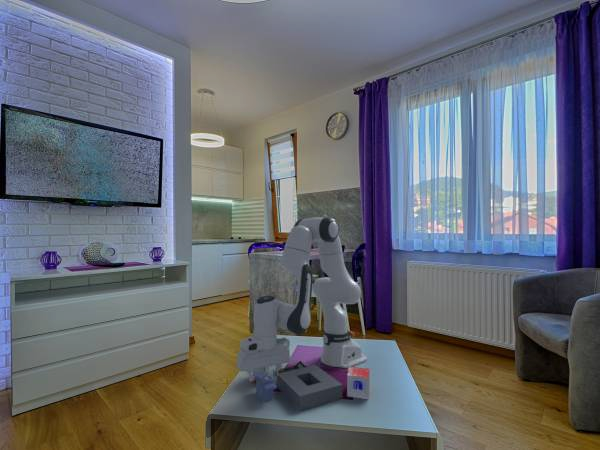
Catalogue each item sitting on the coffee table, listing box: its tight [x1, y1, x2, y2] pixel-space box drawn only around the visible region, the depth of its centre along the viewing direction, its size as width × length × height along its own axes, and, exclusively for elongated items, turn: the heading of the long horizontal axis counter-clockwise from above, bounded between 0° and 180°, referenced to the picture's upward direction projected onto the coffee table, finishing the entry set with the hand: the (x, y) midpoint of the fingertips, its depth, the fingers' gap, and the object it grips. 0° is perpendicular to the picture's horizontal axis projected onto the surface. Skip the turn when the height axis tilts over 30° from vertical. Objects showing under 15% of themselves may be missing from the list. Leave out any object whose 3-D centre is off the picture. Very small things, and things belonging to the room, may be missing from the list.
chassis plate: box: [276, 364, 343, 412], centre depth 120 cm, size 18×19×5 cm
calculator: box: [278, 360, 307, 373], centre depth 135 cm, size 9×12×3 cm
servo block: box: [254, 372, 278, 403], centre depth 116 cm, size 4×13×8 cm, turn 29°
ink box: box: [251, 366, 270, 383], centre depth 131 cm, size 9×5×12 cm, turn 168°
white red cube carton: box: [346, 366, 370, 400], centre depth 120 cm, size 8×8×8 cm
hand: (263, 378), depth 116 cm, fingers open, 8 cm apart
